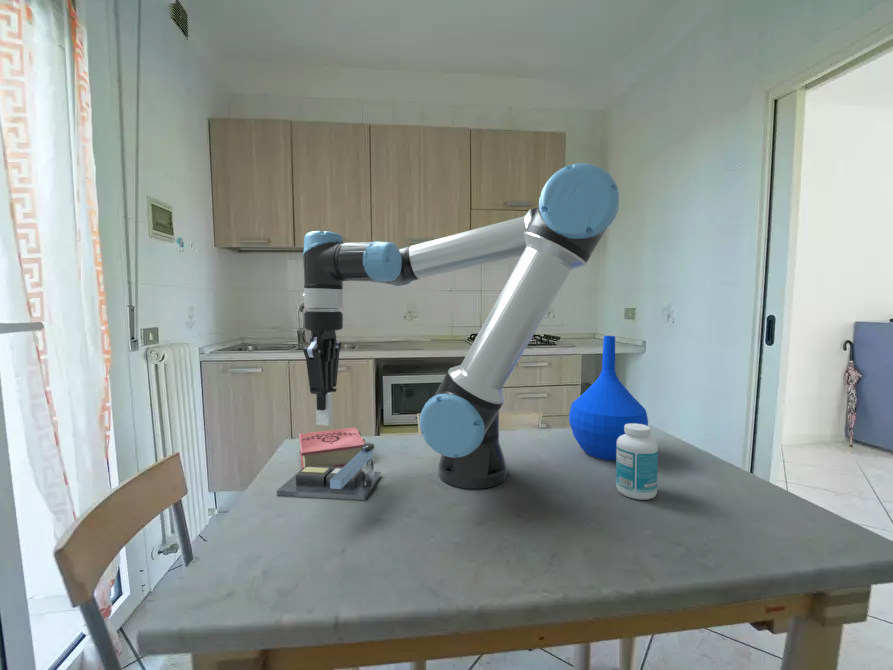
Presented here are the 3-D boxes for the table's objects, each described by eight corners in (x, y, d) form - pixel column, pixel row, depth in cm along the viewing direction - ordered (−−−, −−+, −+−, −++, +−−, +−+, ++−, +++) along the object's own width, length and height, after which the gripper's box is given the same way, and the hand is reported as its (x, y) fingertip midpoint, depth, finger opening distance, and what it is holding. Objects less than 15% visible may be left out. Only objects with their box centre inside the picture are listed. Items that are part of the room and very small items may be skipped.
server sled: (381, 476, 87) (381, 448, 87) (365, 500, 76) (364, 468, 76) (303, 472, 89) (302, 445, 89) (276, 495, 78) (275, 464, 78)
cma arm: (364, 452, 83) (364, 443, 83) (376, 453, 82) (376, 443, 82) (328, 488, 67) (328, 476, 67) (342, 489, 66) (342, 477, 66)
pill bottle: (655, 488, 81) (657, 423, 80) (657, 504, 74) (660, 434, 73) (615, 481, 84) (617, 419, 83) (614, 496, 77) (616, 429, 76)
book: (369, 464, 95) (369, 443, 95) (301, 474, 89) (301, 452, 89) (359, 444, 108) (358, 426, 108) (299, 452, 103) (299, 433, 102)
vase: (565, 439, 111) (567, 333, 109) (635, 443, 107) (639, 334, 105) (572, 465, 93) (575, 338, 91) (657, 471, 89) (661, 339, 87)
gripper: (320, 309, 87) (320, 414, 89) (289, 310, 74) (290, 432, 76) (352, 310, 86) (352, 416, 88) (327, 311, 73) (327, 435, 75)
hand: (323, 423), depth 82 cm, fingers closed
